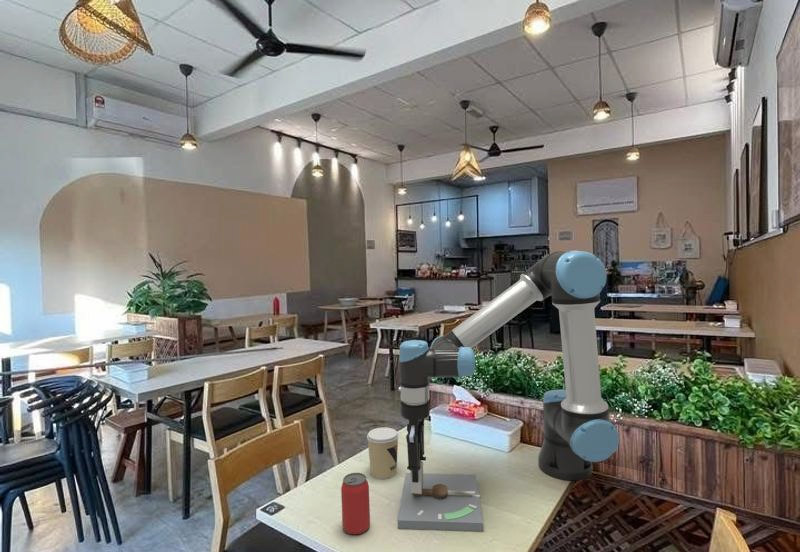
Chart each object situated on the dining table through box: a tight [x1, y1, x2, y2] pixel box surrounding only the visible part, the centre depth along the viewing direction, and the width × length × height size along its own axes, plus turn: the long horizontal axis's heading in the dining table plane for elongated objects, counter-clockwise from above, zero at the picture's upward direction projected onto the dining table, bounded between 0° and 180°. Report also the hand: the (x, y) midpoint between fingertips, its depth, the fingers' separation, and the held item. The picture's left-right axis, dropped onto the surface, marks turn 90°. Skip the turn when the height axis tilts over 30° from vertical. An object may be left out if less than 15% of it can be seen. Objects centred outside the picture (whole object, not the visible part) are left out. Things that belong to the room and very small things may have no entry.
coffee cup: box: [366, 427, 399, 480], centre depth 127 cm, size 9×9×12 cm
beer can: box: [340, 472, 371, 535], centre depth 101 cm, size 7×7×12 cm
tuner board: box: [397, 472, 484, 532], centre depth 110 cm, size 20×22×2 cm
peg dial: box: [412, 460, 475, 498], centre depth 110 cm, size 16×4×9 cm, turn 84°
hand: (417, 489), depth 111 cm, fingers open, 3 cm apart
